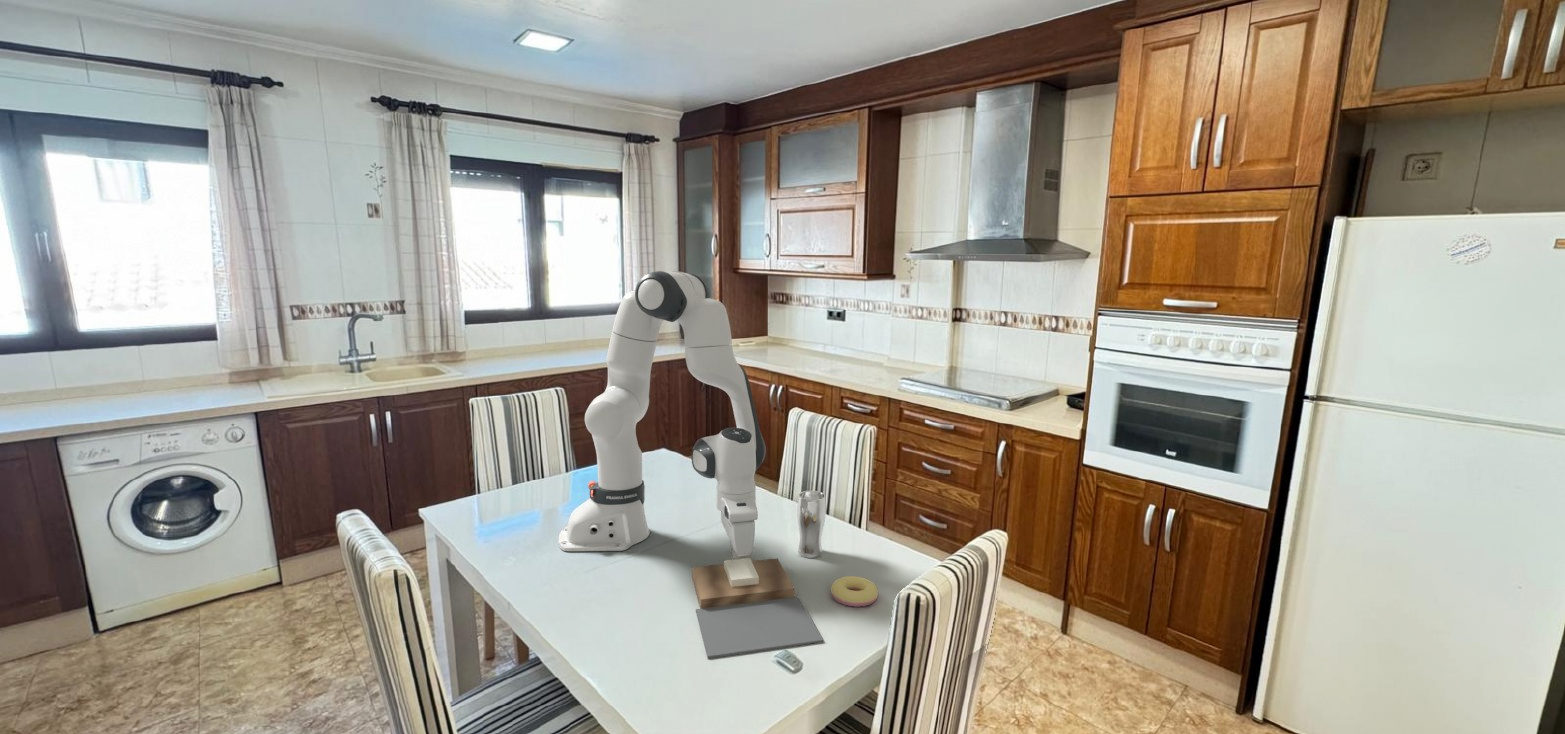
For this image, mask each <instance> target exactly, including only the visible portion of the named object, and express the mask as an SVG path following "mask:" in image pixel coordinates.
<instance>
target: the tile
mask: <svg viewBox="0 0 1565 734" xmlns="http://www.w3.org/2000/svg"><path fill="white" fill-rule="evenodd" d="M752 561H753V560H752V559H751V557H746V558H740V559H726V560H723V564H724V569H725V571H726V574H727V577H728V580H729V582H730V585H731V587H736V586H745V585H754V584H759V576H758V574H757V572H756V570H755V568H754V566H753V563H752Z"/></svg>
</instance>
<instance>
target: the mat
mask: <svg viewBox="0 0 1565 734" xmlns="http://www.w3.org/2000/svg"><path fill="white" fill-rule="evenodd" d="M695 612H696V617H697V621H698V624H699V629H700V633H701V637H702V641H703V645H704V649H705V654H706V658H707V660H708V659H715V658H716V657H717V658H722V656H723V657H730V656H736V655H744V654H749V653H758V652H764V651H770V650H776V649H777V650H779V649H784V648H785V647H786V648H792V646H793V647H798V646H797V645H800V646H805V645H804V644H807V645H812V643H814V644H819V643H820V642H821V643H823V642H824V639H823V638H822V635H821V634H820V632H819V631H818V629H817V627H816V625H815V624H814V622H813V619H812V618H811V616H810V614H809V613H808V611H807V609H806V607H805V605H804V603H803V602H802V600H801V598H800V596H794V597H790V598H782V599H774V600H766V601H758V602H750V603H741V604H733V605H725V606H717V607H709V608H700V607H699V608H695ZM810 643H811V644H810ZM821 643H820V644H821ZM729 655H730V656H729Z"/></svg>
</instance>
